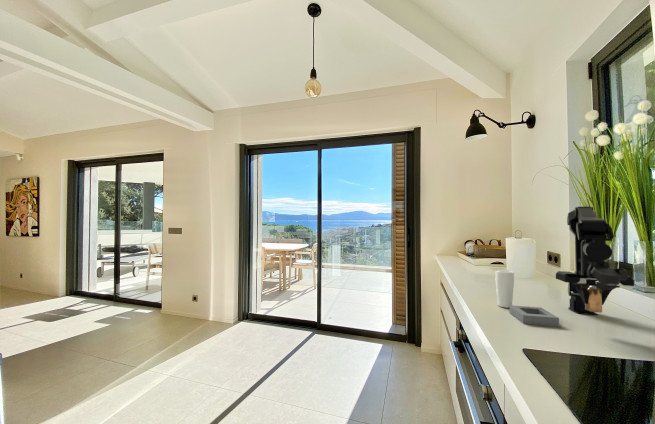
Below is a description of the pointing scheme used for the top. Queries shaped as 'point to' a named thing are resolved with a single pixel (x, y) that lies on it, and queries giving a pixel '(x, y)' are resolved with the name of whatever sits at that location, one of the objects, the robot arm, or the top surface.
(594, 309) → the battery cell
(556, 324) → the gray cradle
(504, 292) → the drinking glass
